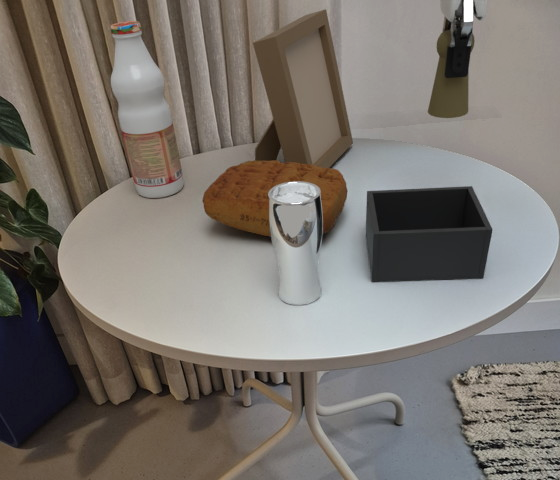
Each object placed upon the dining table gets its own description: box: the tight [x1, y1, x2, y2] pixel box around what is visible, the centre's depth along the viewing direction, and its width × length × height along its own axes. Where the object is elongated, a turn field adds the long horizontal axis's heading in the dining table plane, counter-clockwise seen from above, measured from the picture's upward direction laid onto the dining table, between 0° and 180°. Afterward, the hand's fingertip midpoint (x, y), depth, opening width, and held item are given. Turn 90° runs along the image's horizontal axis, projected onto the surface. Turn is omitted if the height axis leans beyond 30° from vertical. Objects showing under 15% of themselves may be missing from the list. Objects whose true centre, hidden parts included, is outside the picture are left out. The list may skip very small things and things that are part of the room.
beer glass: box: [268, 181, 324, 306], centre depth 76 cm, size 7×7×15 cm
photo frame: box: [252, 8, 354, 168], centre depth 108 cm, size 15×22×25 cm
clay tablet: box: [202, 160, 348, 238], centre depth 95 cm, size 22×17×8 cm
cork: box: [427, 29, 476, 119], centre depth 85 cm, size 6×6×11 cm
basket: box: [365, 185, 494, 283], centre depth 84 cm, size 16×14×8 cm
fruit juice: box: [110, 20, 185, 199], centre depth 103 cm, size 9×9×28 cm
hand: (452, 69), depth 84 cm, fingers closed on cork, 5 cm apart
